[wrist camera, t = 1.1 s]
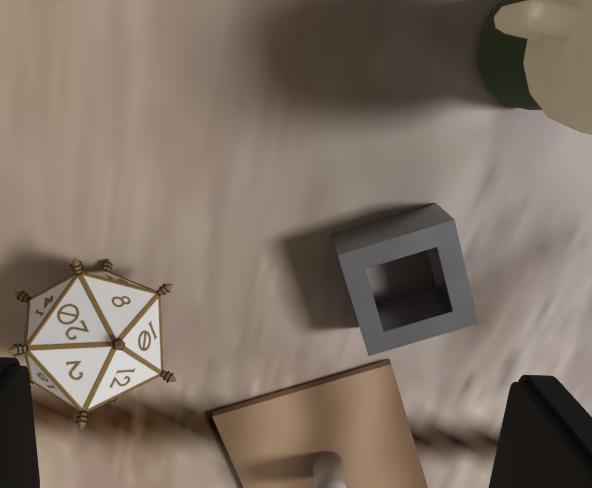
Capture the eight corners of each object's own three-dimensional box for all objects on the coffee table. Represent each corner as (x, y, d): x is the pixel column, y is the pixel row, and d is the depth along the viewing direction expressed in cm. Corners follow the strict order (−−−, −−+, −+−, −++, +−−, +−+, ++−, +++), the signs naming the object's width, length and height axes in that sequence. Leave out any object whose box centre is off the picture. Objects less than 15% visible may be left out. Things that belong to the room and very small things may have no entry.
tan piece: (389, 359, 36) (409, 412, 30) (430, 499, 39) (455, 568, 34) (213, 411, 36) (202, 471, 31) (270, 544, 40) (270, 618, 35)
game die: (100, 280, 37) (-58, 290, 28) (190, 232, 33) (39, 227, 24) (134, 412, 35) (-23, 465, 27) (234, 378, 31) (88, 428, 23)
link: (435, 203, 32) (454, 219, 29) (458, 298, 34) (478, 323, 31) (331, 235, 33) (337, 255, 29) (359, 327, 35) (368, 355, 31)
